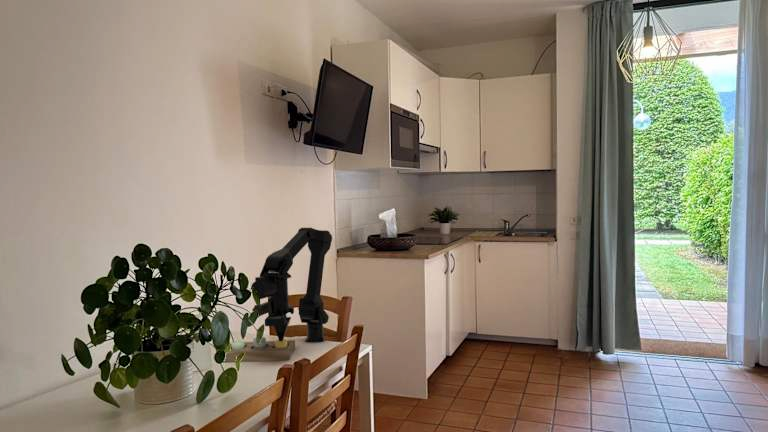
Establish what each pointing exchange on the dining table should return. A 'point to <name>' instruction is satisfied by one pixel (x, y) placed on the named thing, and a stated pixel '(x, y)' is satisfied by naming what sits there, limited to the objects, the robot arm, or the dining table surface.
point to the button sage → (238, 345)
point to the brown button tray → (262, 352)
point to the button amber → (281, 344)
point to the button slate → (261, 345)
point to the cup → (202, 353)
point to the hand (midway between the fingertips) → (281, 341)
